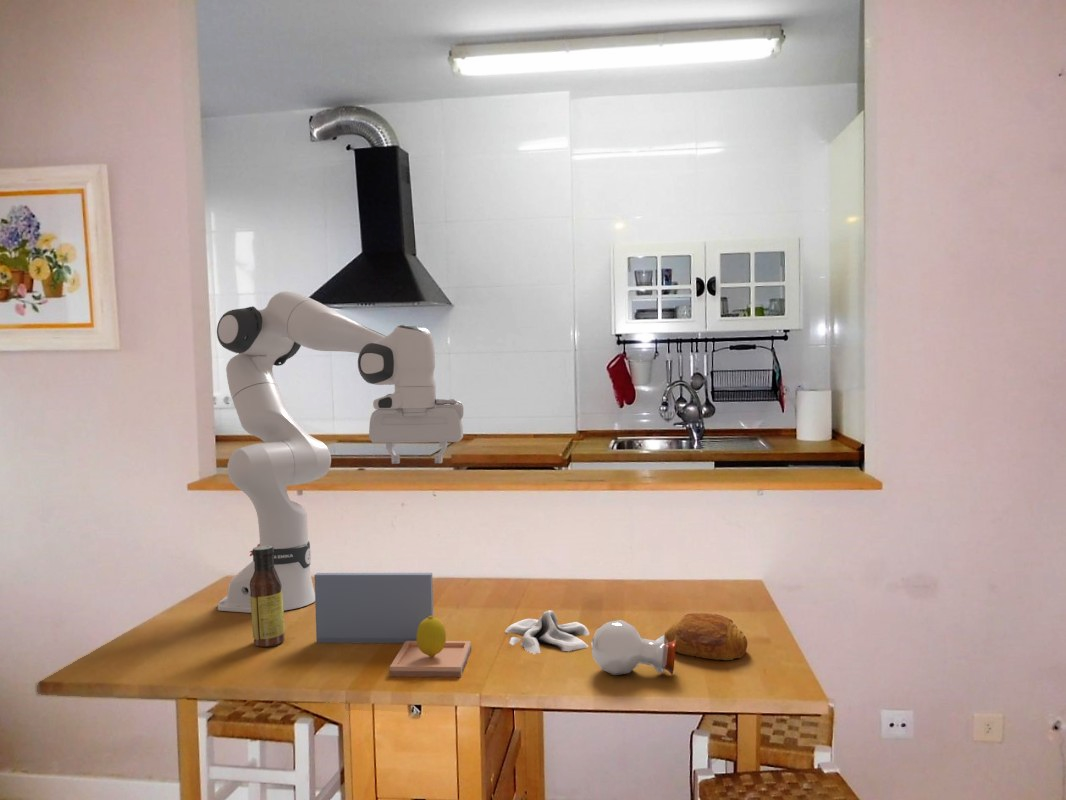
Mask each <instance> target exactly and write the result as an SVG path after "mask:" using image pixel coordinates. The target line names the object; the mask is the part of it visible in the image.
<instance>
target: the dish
mask: <svg viewBox="0 0 1066 800" xmlns="http://www.w3.org/2000/svg"><path fill="white" fill-rule="evenodd" d="M471 652H472V640H446V643H445V646H444V648H443V649H442V651H441V652H440V653H438V654H436V655H435V656H434V657H433V658H430V657H429V656H428V655H426V654H424V653H423V652H421V650H420V649H419V647H418V644H417V641H406V642H405V643H403V645H402V647H401V648H400V649H399V651H398V653H397V654H396V656H395V658H394V659H393V661H392V663H391V664H390V665H389V677H423V678H425V677H428V678H429V677H430V678H432V677H435V678H438V677H439V678H442V677H444V678H445V677H447V678H451V677H453V678H454V677H455V678H462V676H463V673H464V670H465V668H466V665H467V663H468V660H469V658H470V656H471V655H470V654H471Z"/></svg>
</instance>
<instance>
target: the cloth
mask: <svg viewBox="0 0 1066 800" xmlns="http://www.w3.org/2000/svg"><path fill="white" fill-rule="evenodd" d="M558 621H559V620H558V618H557V616H556V614H555V611H554V610H552V609H551V610H546V611H544V612H543V613H542V615H541V616H540V618H539V619H535V618H525V619H522V620H519V621H515V623H512V624H511V625H509V626H508V627H507V628H506V629H505V630H504V633H507V634H519V635H522V639H521V638H520V637H516V636H511V637H510V640H509V642H508V644H510V645H511V646H514V645H516V644H518V643H519V642H520V641H521V640H522V641H521V643H520V646H521V645H522V646H523V647H524V648H523V647H522V646H521V647H522V648H523V650H524V649H525V650H524V651H526V650H527V651H526V652H528V651H529V652H528V653H530V654H531V653H533V654H532V655H537V654H536V653H539V654H541V651H542V650H541V648H540V647H541V646H540V644H546V643H547V645H551V644H552V646H555V647H557V648H558V647H559V648H558V649H560V650H561V651H562V652H564V651H568V652H573V651H576V650H583V649H586V648H587V649H588V648H589V645H588V644H587V643H586V642H584V641H583V639H580V638H578V637H577V636H578V635H579V636H584V637H588V636H590V631H589V629H588V628H587V626H586V625H584V624H582V623H580V622H579V621H573V622H569V623H563V624H558ZM575 635H577V636H575ZM572 650H573V651H572Z"/></svg>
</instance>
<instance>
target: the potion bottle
mask: <svg viewBox="0 0 1066 800" xmlns="http://www.w3.org/2000/svg"><path fill="white" fill-rule="evenodd" d="M590 644H591V645H590V646H591V652H592V658H593V660H594V661H595V662H596V663H597V665H598V666H599V668H601V670H602V671H604V672H606V673H608V674H611V675H613V676H619V675H625V674H630V673H631V672H632V671H633V670H634V669H635V668H637V666H639V664H641V665H646V666H652V667H653V668H654V669H655V670H656V672H657V673H658V674H659V673H660V674H659V675H661V674H662V673H663V672H664V671H665V670H666V671H668V672H669V674H671V675H673V674H674V670H675V658H676V652H675V651H676V639H675V640H674V641H672V642H668V640H667V638H666V636H665V633H664V634H663V635H661V636H660V637H658V638H657V639H656V640H654V639H648V638H643V637H642V636H641V635H640V632H638V630H637V629H636V627H635V626H634V625H633V624H630V623H628V622H627V621H625V620H622V619H617V620H613V621H607V622H606V623H604V624H603V625H601V626H600V627H598V628H597V629H596V630H595V633H594V635H593V637H592V640H591V642H590Z"/></svg>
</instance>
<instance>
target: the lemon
mask: <svg viewBox="0 0 1066 800" xmlns="http://www.w3.org/2000/svg"><path fill="white" fill-rule="evenodd" d="M446 641H447V632H446V628H445V625H444V623H443V622H442V620H441V619H439V618H437V617H434V615H433V616H429V617H428V618H426V619H424V620H423V621H422V622H421V623H420V625H419V627H418V630H417V644H418V647H419V649H420V650H421V652H423V653H424V654H426V655H428V656H429V657H430V658H433V657H434V656H435V655H436V654H438V653H440V652H441V651H442V649H443V648H444V646H445V643H446Z"/></svg>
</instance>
